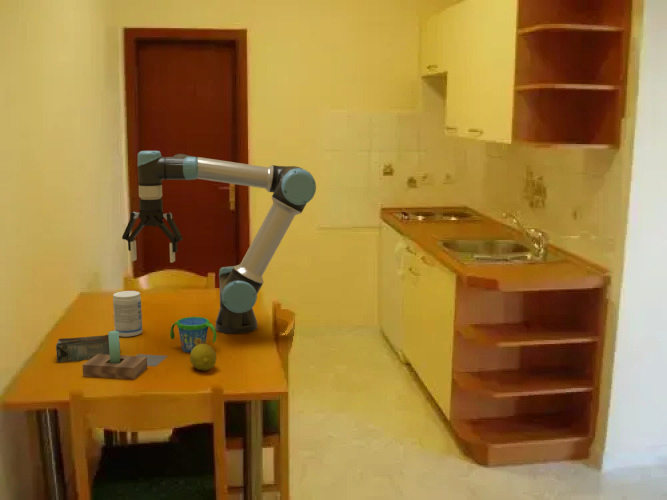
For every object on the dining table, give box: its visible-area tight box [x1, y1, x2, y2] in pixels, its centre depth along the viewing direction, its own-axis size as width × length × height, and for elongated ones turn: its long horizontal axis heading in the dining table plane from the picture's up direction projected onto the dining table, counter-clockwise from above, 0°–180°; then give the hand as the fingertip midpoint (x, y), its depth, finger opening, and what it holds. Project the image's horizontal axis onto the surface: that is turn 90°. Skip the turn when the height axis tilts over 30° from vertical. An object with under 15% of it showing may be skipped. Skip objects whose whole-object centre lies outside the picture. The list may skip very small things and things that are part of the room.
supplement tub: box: [112, 290, 143, 338], centre depth 264 cm, size 10×10×15 cm
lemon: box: [189, 343, 217, 372], centre depth 229 cm, size 11×8×8 cm
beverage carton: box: [55, 334, 121, 363], centre depth 240 cm, size 8×19×7 cm, turn 104°
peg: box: [107, 330, 121, 364], centre depth 224 cm, size 3×3×13 cm
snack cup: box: [169, 316, 218, 354], centre depth 247 cm, size 16×10×10 cm
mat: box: [136, 353, 168, 367], centre depth 236 cm, size 10×10×1 cm
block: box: [82, 354, 148, 381], centre depth 225 cm, size 16×10×4 cm, turn 81°
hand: (153, 261), depth 249 cm, fingers open, 13 cm apart
